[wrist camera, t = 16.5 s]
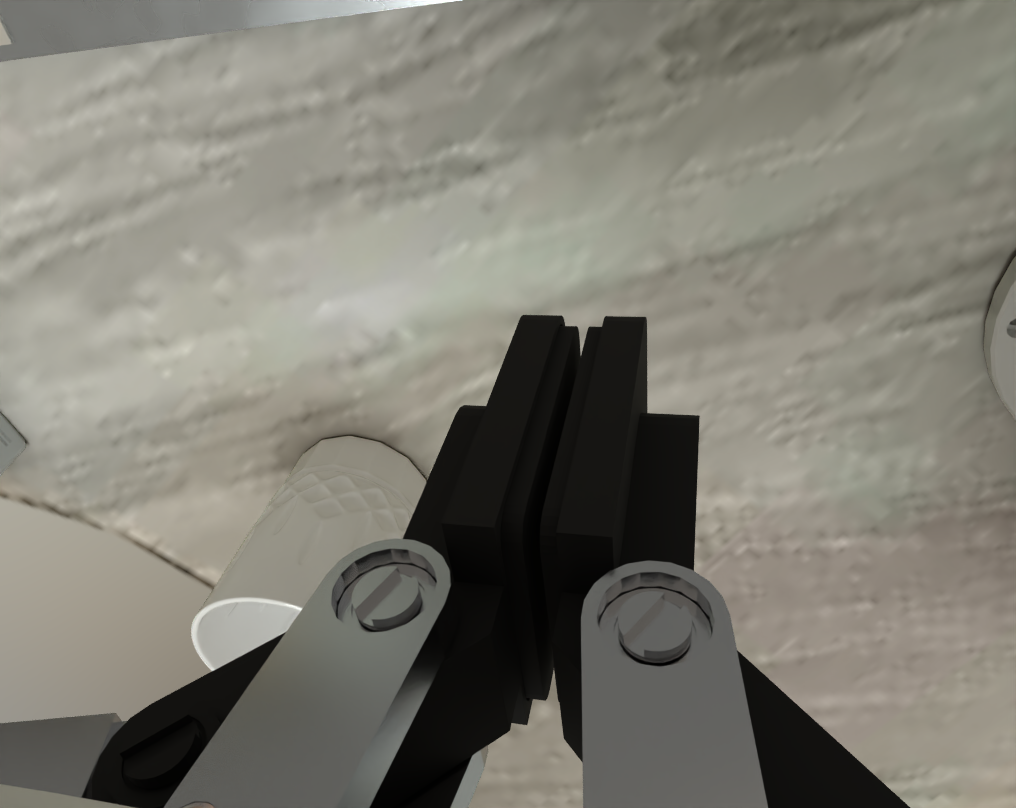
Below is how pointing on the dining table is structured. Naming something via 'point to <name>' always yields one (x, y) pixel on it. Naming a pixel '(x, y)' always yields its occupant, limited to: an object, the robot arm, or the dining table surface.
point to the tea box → (9, 444)
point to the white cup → (305, 541)
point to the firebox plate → (154, 20)
